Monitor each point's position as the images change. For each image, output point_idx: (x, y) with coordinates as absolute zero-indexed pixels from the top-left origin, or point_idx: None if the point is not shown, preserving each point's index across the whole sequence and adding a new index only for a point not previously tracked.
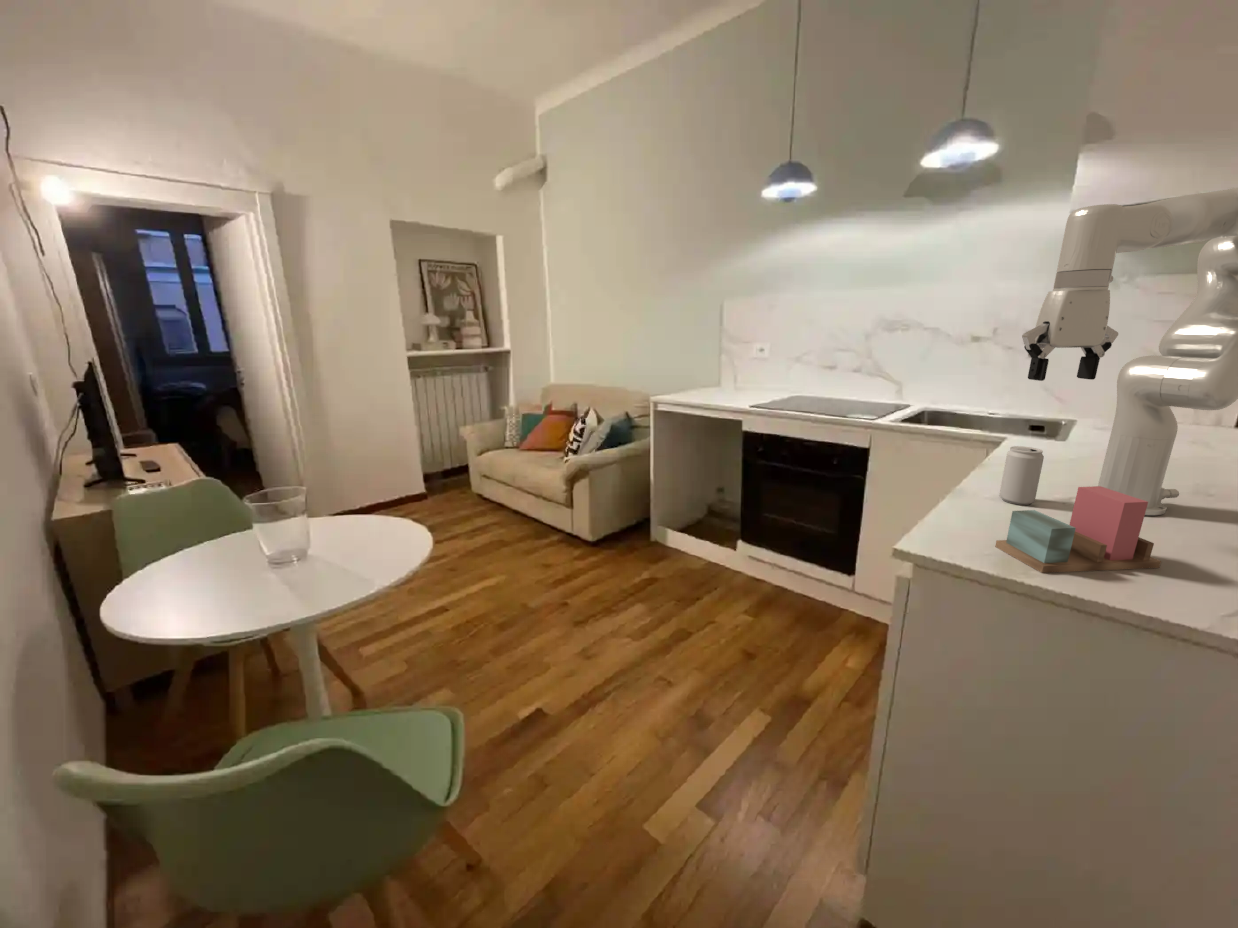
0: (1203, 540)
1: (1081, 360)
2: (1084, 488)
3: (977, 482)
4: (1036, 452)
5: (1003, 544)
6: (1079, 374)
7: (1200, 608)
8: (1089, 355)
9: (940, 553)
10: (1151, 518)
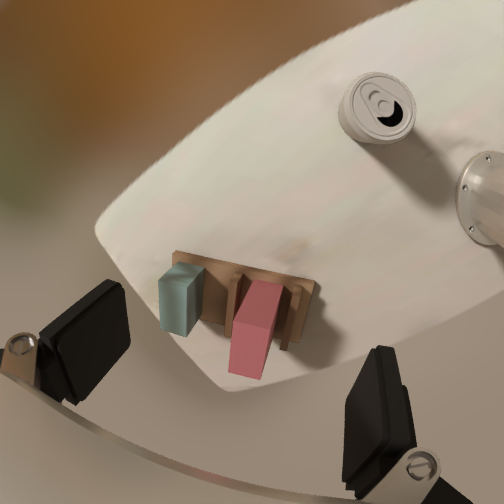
0: (434, 309)
1: (378, 426)
2: (235, 327)
3: (383, 21)
4: (379, 137)
5: (172, 263)
6: (370, 366)
7: (246, 378)
8: (366, 478)
9: (115, 245)
10: (469, 244)
